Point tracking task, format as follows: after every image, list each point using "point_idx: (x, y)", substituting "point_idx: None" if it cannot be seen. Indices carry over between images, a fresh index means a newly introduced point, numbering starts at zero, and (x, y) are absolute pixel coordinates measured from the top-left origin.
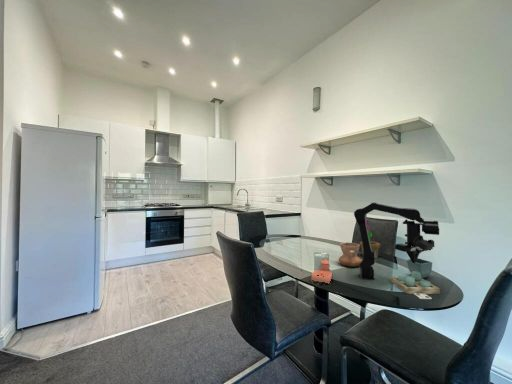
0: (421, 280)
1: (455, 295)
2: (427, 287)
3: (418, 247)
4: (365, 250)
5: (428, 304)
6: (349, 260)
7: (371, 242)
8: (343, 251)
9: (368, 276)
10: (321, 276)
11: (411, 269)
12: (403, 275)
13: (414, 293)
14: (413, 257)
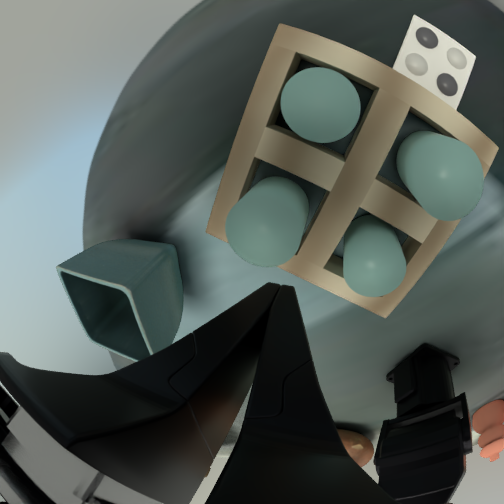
0: (325, 134)
1: (215, 3)
2: (352, 68)
3: (48, 495)
4: (450, 499)
5: (482, 11)
6: (361, 455)
7: None
8: None
9: (443, 363)
10: None
11: (176, 310)
12: (348, 275)
13: (452, 107)
14: (310, 365)
